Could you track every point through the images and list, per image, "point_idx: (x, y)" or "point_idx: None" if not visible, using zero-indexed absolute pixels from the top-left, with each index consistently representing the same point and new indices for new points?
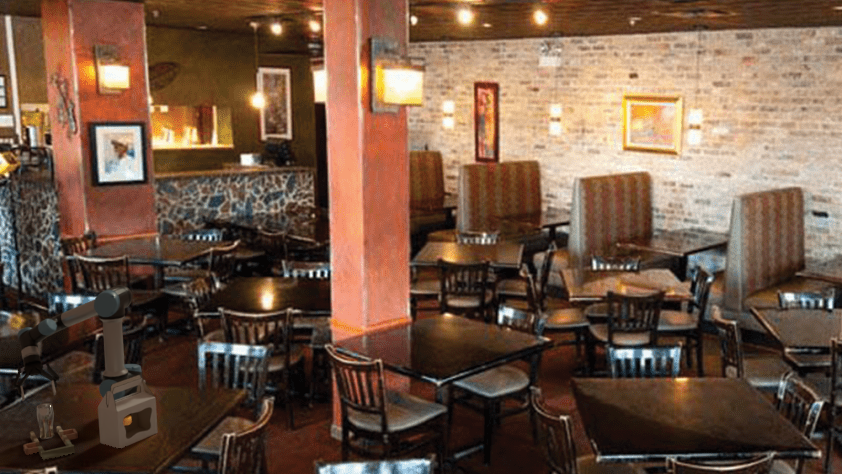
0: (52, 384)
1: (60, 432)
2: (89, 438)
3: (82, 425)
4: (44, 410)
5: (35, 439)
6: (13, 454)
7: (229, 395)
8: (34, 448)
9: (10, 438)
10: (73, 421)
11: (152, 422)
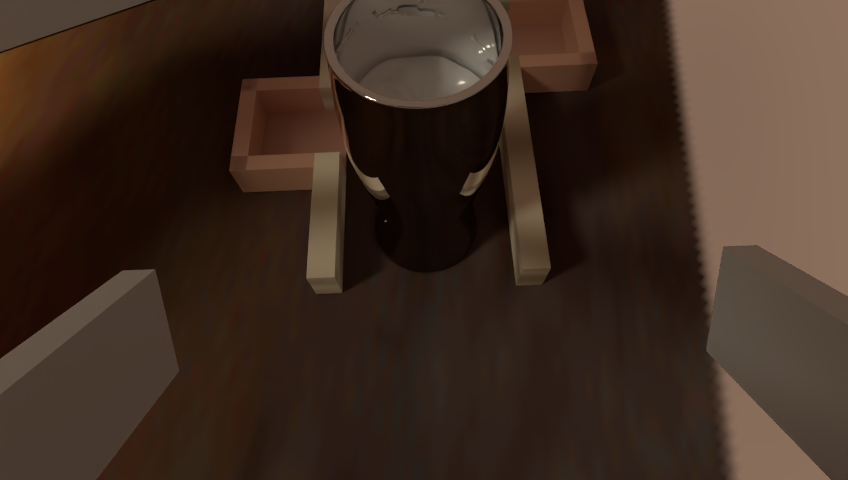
0: (7, 421)
1: (336, 154)
2: (200, 71)
3: None
4: None
5: (516, 104)
6: (643, 58)
7: None
8: None
9: (692, 341)
10: (152, 470)
11: None
